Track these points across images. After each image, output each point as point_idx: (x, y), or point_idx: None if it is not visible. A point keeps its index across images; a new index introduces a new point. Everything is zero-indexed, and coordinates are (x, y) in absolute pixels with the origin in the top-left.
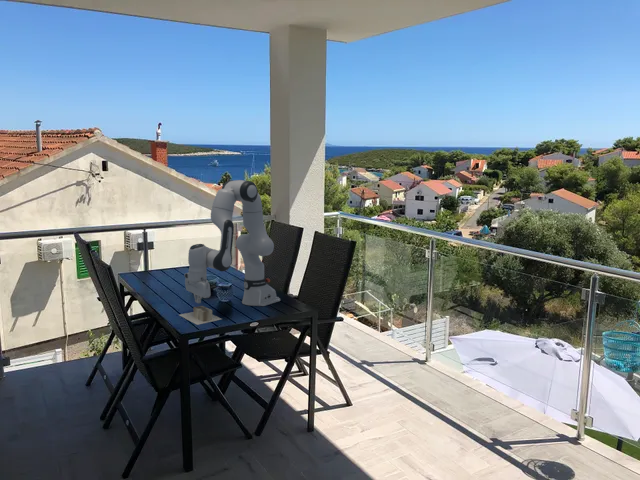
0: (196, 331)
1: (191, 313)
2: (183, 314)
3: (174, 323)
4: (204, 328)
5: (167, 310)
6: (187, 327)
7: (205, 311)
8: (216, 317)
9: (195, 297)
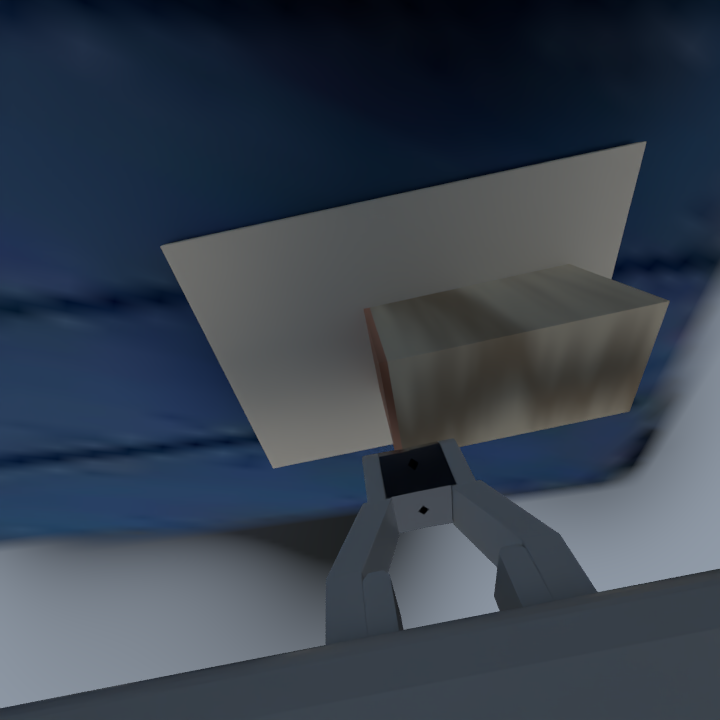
0: (650, 420)
1: (271, 386)
2: (276, 441)
3: None
4: (652, 368)
5: (92, 498)
6: (543, 448)
7: (637, 388)
8: (539, 191)
9: (390, 563)
